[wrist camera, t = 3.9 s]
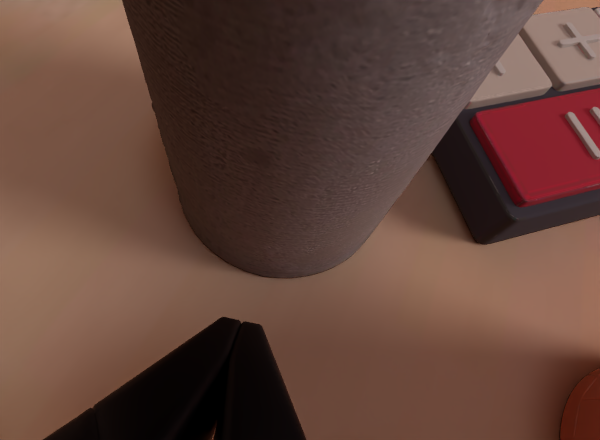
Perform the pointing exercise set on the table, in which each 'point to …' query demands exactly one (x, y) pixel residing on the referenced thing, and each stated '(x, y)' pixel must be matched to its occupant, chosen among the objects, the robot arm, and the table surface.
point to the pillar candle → (308, 112)
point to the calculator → (531, 132)
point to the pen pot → (583, 410)
